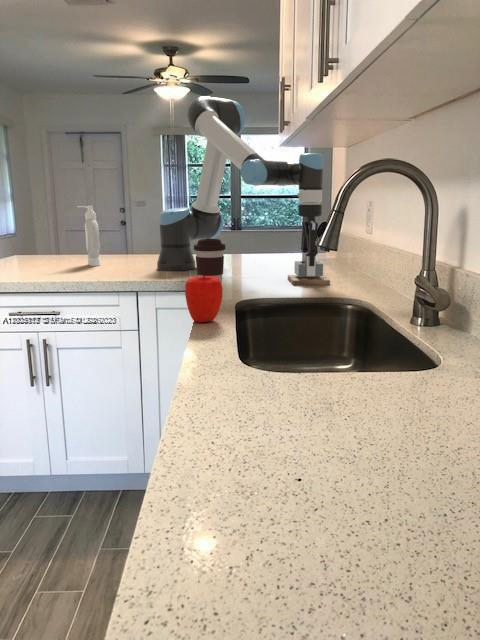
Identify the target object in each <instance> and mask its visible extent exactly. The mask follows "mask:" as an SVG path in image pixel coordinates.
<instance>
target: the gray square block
mask: <svg viewBox="0 0 480 640" xmlns="http://www.w3.org/2000/svg"><path fill="white" fill-rule="evenodd" d="M293 272H294V275H297V276H298V277H306V276H307V264H305V261H302V260H294V271H293ZM323 275H324V263H322V262H321V261H319V260H316V266H315V276H323Z"/></svg>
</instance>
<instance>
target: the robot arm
mask: <svg viewBox="0 0 480 640" xmlns="http://www.w3.org/2000/svg"><path fill="white" fill-rule="evenodd" d="M186 119H187V122H188V124H189V127H190V128H191V129H192V131H193V132H195V133H196V134H197V135H198V136H199V137H202V138H205V139H206V146H205V151H204V155H203V160H202V161H203V162H202V167H201V174H200V178H199V184H198V189H197V195H196V200H195V201H194V202H192V203H191V207H190V208H189V207H175V208H169V209H164V210H162V211H161V212H160V214H159V221H158V223H159V236H160V237H159V238H160V239H159V240H160V252H159V255H158V259H157V263H156V267H157V270H159V271H167V272H173V271H174V272H175V271H176V272H179V271H181V272H182V271H190V270H195V269H196V259H195V257H194V254H193V252H192V250H191V241H199V240H200V239H216V238H217V237H218V236H219V235H220V234H221V233H222V230H223V228H224V219H223V218H224V217H223V214H222V212H221V209H220V207H219V204H218V203H219V200H220V199H219V198H220V194H221V189H222V185H223V180H224V175H225V170H226V169H225V168H226V164H227V161H228V160H229V161H230V162H231V163H232V164H233V165H234V166H235V167H236V168H237V169H238V170H240V177H241V179H242V181H243V183H245V184H247V185H250V186H255V187H257V186H279V187H284V186H285V187H286V186H298V192H297V193H296V196H297V197H298V203H300V204H298V206H297V207H298V209H297V214H298V216H299V217H304V220H302V221H301V241H300V242H301V243H300V250H301V261H305V256H307V276H315V266H316V261H317V260H316V259H317V255H318V245H317V246H316V245H315V241H316V239H317V240H318V226H319V223H318V222H316V217H317V218H318V217H322V213H323V212H322V210H323V208H322V207H323V206H322V204H321V203H322V202H323V179H324V178H323V177H324V168H325V167H324V157H323V154H321V153H316V152H315V153H313V152H311V153H310V152H309V153H307V152H306V153H301V154H300V155H299V159H298V160H297V161H295V160H294V161H282V160H281V161H278V160H266V159H264V158H263V157H261V155H259V153H257V152H256V151H255V150H254V149H253V148H252V147H250V145H249V144H247V143H246V142H245V141H244V140H243V139H242V138H241V137H239V134H240V133H241V132H242V131H243V130H244V127H245V125H246V115H245V112H244V109H243V106H242V105H241V104H240V103H239V102H237V101H235V100H232V99H227V98H221V97H213V96H212V97H211V96H205V95H204V96H199V97H196V98H194V99H193V100H192V101H191V103H190V104H189V106H188V108H187V111H186ZM227 159H228V160H227Z"/></svg>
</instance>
